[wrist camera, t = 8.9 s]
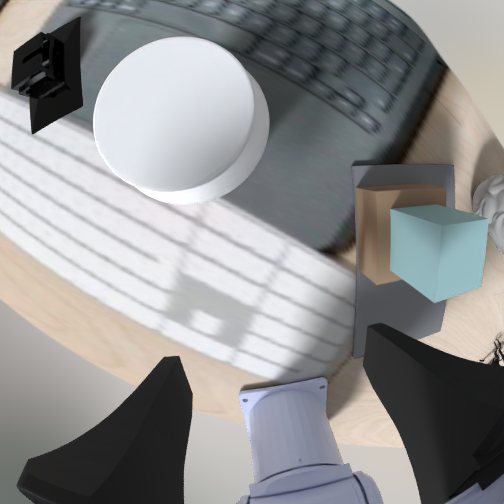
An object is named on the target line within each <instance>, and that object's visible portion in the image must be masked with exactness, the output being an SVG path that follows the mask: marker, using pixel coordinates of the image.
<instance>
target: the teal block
mask: <svg viewBox="0 0 504 504" xmlns="http://www.w3.org/2000/svg"><path fill="white" fill-rule="evenodd" d="M390 216H391V253H390V271H392V272H393V273H395V274H396V275H397V276H399V277H400V278H401V279H403V280H404V281H406V282H407V283H408V284H410V285H411V286H412V287H414V288H415V289H416V290H418V291H419V292H420V293H422V294H423V295H424V296H426V297H427V298H428V299H430V300H431V301H432V302H434V303H436V302H439V301H442V300H445V299H448V298H451V297H454V296H457V295H460V294H463V293H465V292H468V291H471V290H474V289H476V288H479V287H481V282H482V276H483V269H484V262H485V255H486V246H487V235H488V220H489V219H488V218H484V217H481V216H478V215H474V214H471V213H467V212H464V211H460V210H456V209H453V208H449V207H445V206H441V205H437V204H435V205H424V206H414V207H404V208H394V209H390Z"/></svg>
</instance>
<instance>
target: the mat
mask: <svg viewBox="0 0 504 504" xmlns="http://www.w3.org/2000/svg"><path fill="white" fill-rule="evenodd" d="M351 167H352V178H353V190H354V204H355V223H356V266H357V271H356V314H355V333H354V347H353V357H354V359H355V358H359V357H363V356H364V353H365V344H366V333H367V326H368V325H372V324H376V323H380V322H381V323H384V324H386V325H388V326H390V327H392V328H394V329H396V330H398V331H400V332H402V333H404V334H406V335H408V336H410V337H412V338H414V339H416V340H418V339H421V338H423V337H426V336H429V335H432V334H434V333H437V332H439V331H440V330H441V326H442V321H443V316H444V311H445V306H446V300H447V299H445V300H442V301H439V302H436V303H434V302H432V301H431V300H430V299H428V298H427V297H426V296H424V295H423V294H422V293H420V292H419V291H418V290H416V289H415V288H414V287H412V286H411V285H410V284H408V283H407V282H406V281H404V280H403V279H402V280H398V281H394V282H389V283H385V284H380V285H376V284H375V283H374V282H372V281H371V280H370V279H369V278H368V277H367V276H365V275H364V274H363V273H362V272H361V271H360V270H359V250H358V218H357V200H356V188H360V187H373V186H387V185H404V184H428V185H434V186H441V187H446V207H449V208H453V209H455V177H454V165H442V164H396V165H366V166H351Z"/></svg>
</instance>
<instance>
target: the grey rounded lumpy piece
mask: <svg viewBox="0 0 504 504" xmlns="http://www.w3.org/2000/svg"><path fill="white" fill-rule="evenodd" d="M472 205H473V213H474V215H478V216H481V217H484V218H488V219H489V220H488V234H489V235H490V236H491V239H492V241H493V242H494V243H495V245H496V247H497V249H498V250H499V251H500V252H502V253H504V175H501V174H500V175H492V176H490V177H489V178H488V179H487V180H485V181H483V182H482V183H481V184H480V185H479V186H478V187H477V189H476V190H475V193H474V196H473V202H472Z"/></svg>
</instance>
